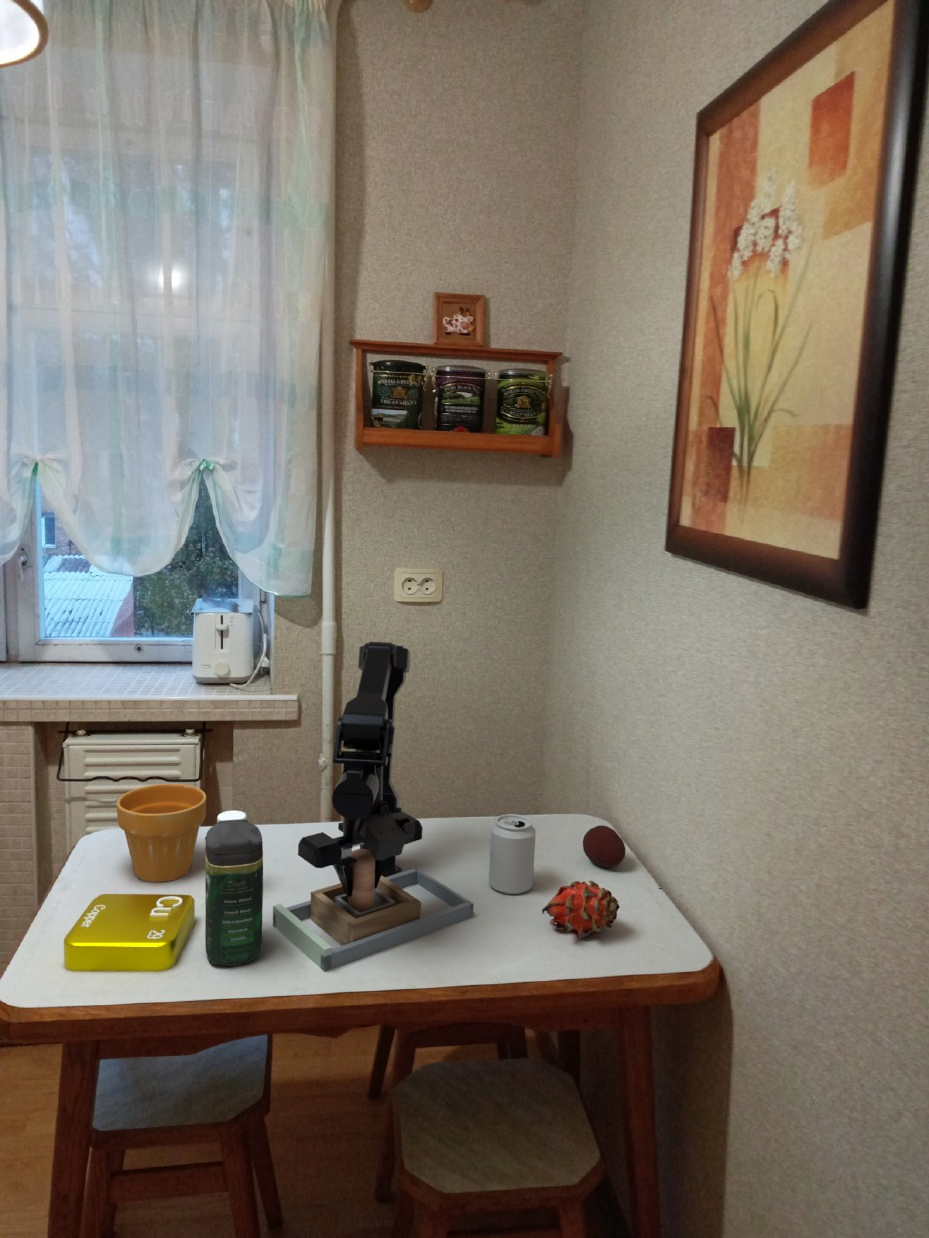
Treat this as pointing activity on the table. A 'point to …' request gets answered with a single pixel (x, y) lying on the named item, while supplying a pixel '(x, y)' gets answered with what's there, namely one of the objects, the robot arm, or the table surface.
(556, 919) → the dragon fruit
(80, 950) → the element tile
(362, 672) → the robot arm
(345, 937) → the crate
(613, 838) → the passion fruit
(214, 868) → the green labelled bottle
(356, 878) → the handle peg
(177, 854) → the flower pot
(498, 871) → the can
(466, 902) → the bay
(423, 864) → the table surface
